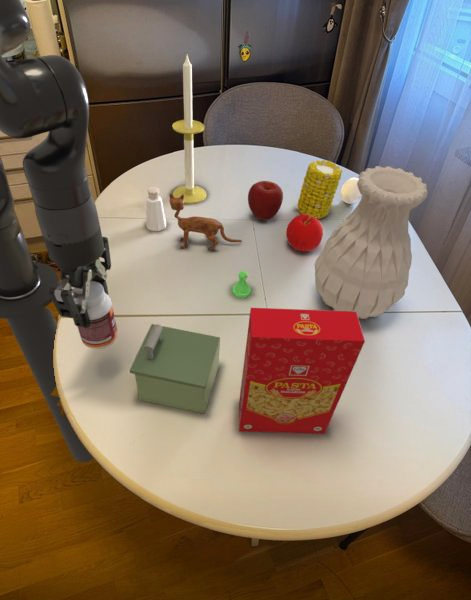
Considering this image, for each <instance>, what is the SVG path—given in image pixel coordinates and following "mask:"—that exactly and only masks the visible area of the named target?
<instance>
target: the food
mask: <svg viewBox="0 0 471 600" xmlns="http://www.w3.org/2000/svg"><path fill="white" fill-rule="evenodd" d="M342 174H343V170H342V168H341V167H340V166H339V165H337V164H336V163H335V162H334V163H333V162H332V161H331V160H326V159H323V160H319V159H317V160H315V161H311V162H310V163H309V164H308V167H307V170H306V173H305V176H304V179H303V183H302V186H301V189H300V193H299V198H298V200H297V205H296V206H297V207H296V210H297V211H298V212H299V214H305V215H310V216H313V217H315V218H317V219H318V220H320V219H324V218H326V217H327V216H328V215H329V212H330V210H331V207H332V203H333V201H334V199H335V197H336V193H337V189H338V186H339V184H340V181H341V178H342Z"/></svg>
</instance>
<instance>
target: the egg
mask: <svg viewBox="0 0 471 600" xmlns="http://www.w3.org/2000/svg"><path fill="white" fill-rule="evenodd" d="M357 182H358V178H357V177H351V178H349V179H347V180H346V181H345V182H344V183H343V185H342V186H341V187H340V188H341V189H340V198H341V199H342V201H343V202H344V203H346V204H348V205H352V204H356V203H357V202H360V201H361V198H362V195H361V193H360V191H359V189H358V186H357Z"/></svg>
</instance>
